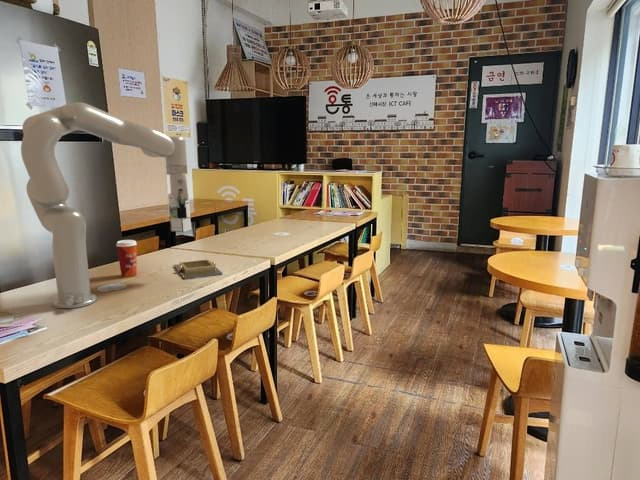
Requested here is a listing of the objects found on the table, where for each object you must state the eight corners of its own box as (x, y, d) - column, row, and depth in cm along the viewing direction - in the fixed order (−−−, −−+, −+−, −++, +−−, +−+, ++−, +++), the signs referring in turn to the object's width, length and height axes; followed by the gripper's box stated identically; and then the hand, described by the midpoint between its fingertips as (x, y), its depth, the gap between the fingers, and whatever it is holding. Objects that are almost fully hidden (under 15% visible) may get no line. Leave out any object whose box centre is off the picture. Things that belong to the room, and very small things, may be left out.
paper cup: (132, 278, 178) (129, 243, 175) (114, 277, 180) (111, 242, 177) (143, 273, 186) (140, 239, 183) (126, 272, 187) (123, 239, 184)
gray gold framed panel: (222, 274, 184) (222, 267, 183) (184, 279, 177) (184, 272, 176) (208, 262, 203) (208, 256, 202) (174, 266, 196) (173, 259, 196)
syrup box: (191, 229, 177) (189, 192, 174) (183, 232, 172) (180, 194, 169) (179, 229, 179) (176, 192, 176) (170, 231, 173) (167, 193, 170)
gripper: (191, 171, 165) (194, 219, 168) (182, 168, 180) (185, 212, 183) (170, 171, 161) (173, 220, 165) (163, 169, 177) (166, 214, 180)
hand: (180, 216), depth 174 cm, fingers closed on syrup box, 8 cm apart
